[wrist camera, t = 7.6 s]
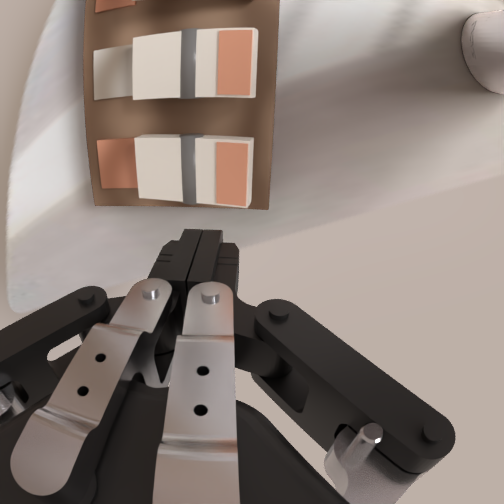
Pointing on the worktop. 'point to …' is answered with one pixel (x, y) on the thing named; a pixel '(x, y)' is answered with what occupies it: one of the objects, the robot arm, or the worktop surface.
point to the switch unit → (169, 109)
